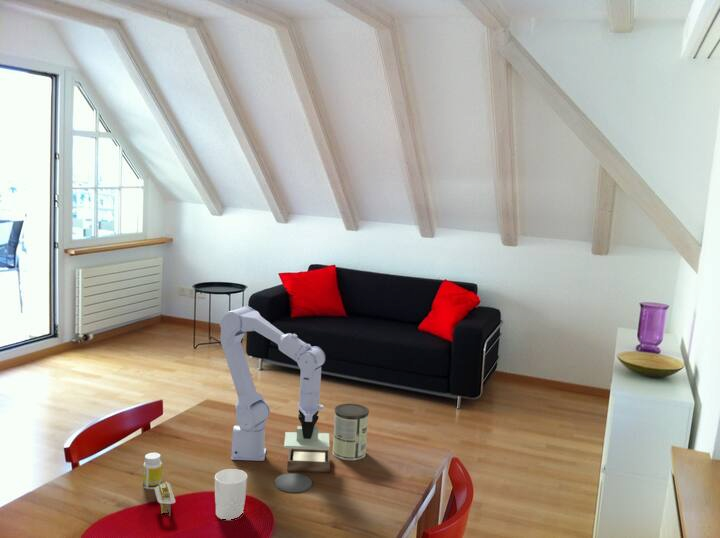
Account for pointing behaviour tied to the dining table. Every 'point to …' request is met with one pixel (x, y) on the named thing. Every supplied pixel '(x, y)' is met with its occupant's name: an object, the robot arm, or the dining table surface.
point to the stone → (293, 482)
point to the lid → (306, 440)
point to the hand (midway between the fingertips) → (307, 436)
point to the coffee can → (350, 431)
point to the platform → (165, 496)
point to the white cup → (230, 493)
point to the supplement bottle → (152, 471)
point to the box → (309, 460)
